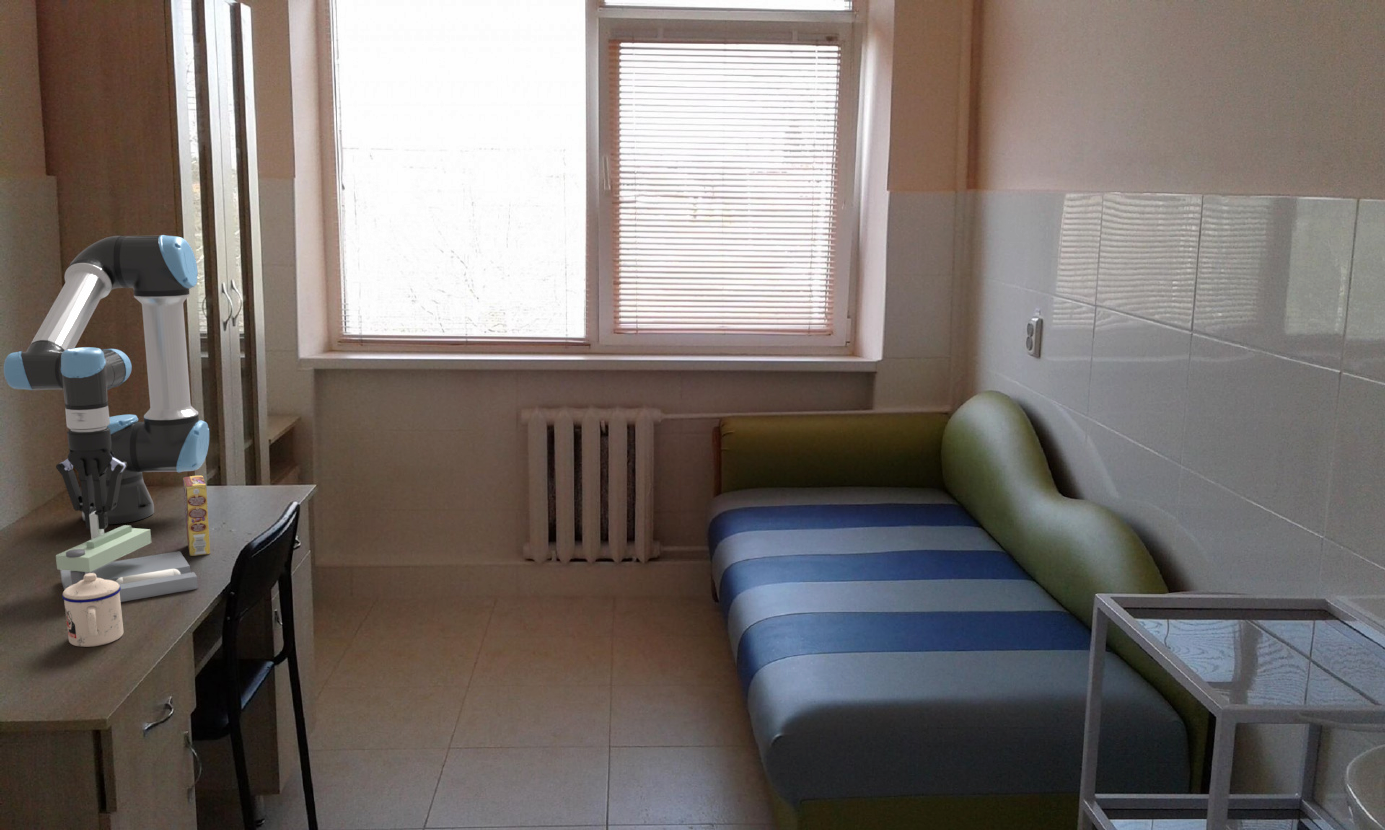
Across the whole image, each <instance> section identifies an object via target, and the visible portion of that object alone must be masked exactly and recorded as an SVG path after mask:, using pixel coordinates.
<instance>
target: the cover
mask: <svg viewBox="0 0 1385 830" xmlns="http://www.w3.org/2000/svg"><path fill="white" fill-rule="evenodd" d="M150 544H152V535H151V529H150V528H149V529H148V528H135V527H132V525H128V524H127V525H126V524H125V525H121V526H119V527H117V528H116V527H115V528H114V529H112V530H110V531H107V532H104V534H103V535H100V536H98V537H96V538H94V539H91V538H90V539H89V540H87V541H84V542H82V543H80V544H78V545H75V546H73V547H71V548H69V549H66V550H65V551H62V552H60V553H57V554H56V555H55V560H56V569H57V570H59V571H60V570H70V571H82V572H91V571H93V570H96V569H98V568H100V567H102V566H104V565H106V564H108V563H110V562H114V561H117V560H118V559H121V558H122V557H124V556H128V555H129V554H131V553H133V552H136V551H137V550H139V549H142V548H143V547H145V546H148V545H150Z"/></svg>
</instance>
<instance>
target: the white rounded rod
mask: <svg viewBox="0 0 1385 830" xmlns="http://www.w3.org/2000/svg"><path fill="white" fill-rule="evenodd" d="M179 574H181V573H180V572H179V570H177V569H168V570H162V571H156V572H150V573H144V574H138V575H131V576H125V577H120V578H118V579H117V580H116V582H117V583H118V584H119V585H120V584H126V583H132V582H138V581H144V580H150V579H156V578H162V577H168V576H174V575H179Z"/></svg>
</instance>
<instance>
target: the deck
mask: <svg viewBox="0 0 1385 830" xmlns="http://www.w3.org/2000/svg"><path fill="white" fill-rule="evenodd" d="M168 569H177V570H179V572H180V573H181V574H179V575H174V576H168V577H162V578H156V579H150V580H144V581H138V582H132V583H126V584H120V587H121V590H120V602H121V603H122V602H123V603H124V602H128V601H134V600H135V601H136V600H140V599H146V598H151V597H157V596H163V595H168V594H174V593H175V594H176V593H180V592H186V591H192V590H197V589H199V585H198V576H197V574H196V573H195V572H194V571H191V565H190V564H189V562H188V561H187V560H186V558H185V557H184V556H183V554H182V552H181V550H179V551H172V552H165V553H159V554H155V555H154V554H153V555H147V556H146V555H145V556H141V557H133V558H128V559H127V558H126V559H122V560H121V559H120V560H114V561H112V562H110V563H108V564H106V565H104V566H102V567H100V568H98V569H96V570H93V571H91V572H82V571H70V570H59V571H60V572H59V573H60V580H61V584H62V587H63V590H65V589H66V588H68V587H69V586H71V585H74V584H76V583H78V582H79V581H81V580H83V579H84V575H85V574H88V573H95V574H96V576H97V578H102V579H105V580H112V581H115V582H116V580H117V579H118V578H120V577H125V576H131V575H138V574H144V573H150V572H156V571H162V570H168Z"/></svg>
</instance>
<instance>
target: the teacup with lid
mask: <svg viewBox="0 0 1385 830" xmlns="http://www.w3.org/2000/svg"><path fill="white" fill-rule="evenodd" d="M63 590H64V589H63ZM120 590H121V587H120V585H119V584H118V583H117V582H115V581H112V580H105V579H102V578H97V576H96V574H95V573H88V574H85V575H84V579H83V580H81V581H79V582H78V583H76V584H74V585H71V586H69V587H68V588H66V589H65V590H64V591H63V592H62V595H61V597H62V599H63V601H64V603H63V604H64V610H65V620H66V628H67V629H66V630H67V637H68V642H69V643H70V645H73V646H75V647H81V648H85V647H88V648H90V647H98V646H103V645H104V646H105V645H107V644H110V643H112V642H115V641H117V640H118V639H120V638H121V637H122V636H123V635H124V625H123V624H124V623H123V622H124V621H123V615H122V614H123V613H122V602H120Z"/></svg>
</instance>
